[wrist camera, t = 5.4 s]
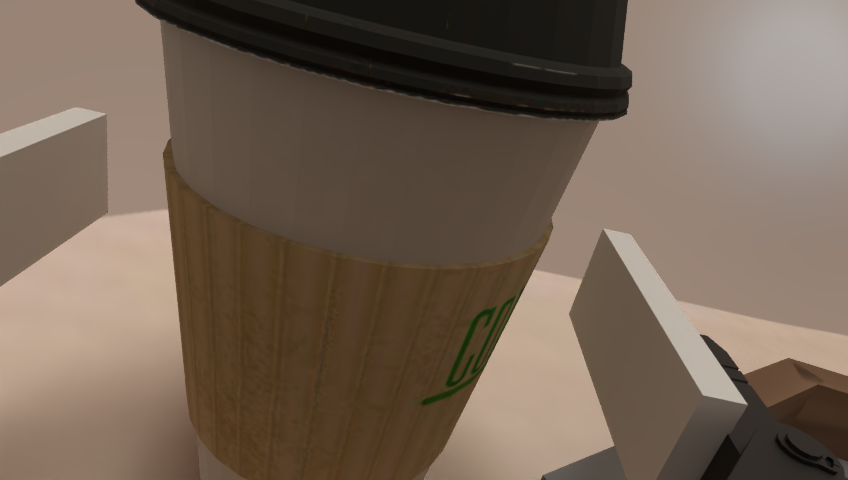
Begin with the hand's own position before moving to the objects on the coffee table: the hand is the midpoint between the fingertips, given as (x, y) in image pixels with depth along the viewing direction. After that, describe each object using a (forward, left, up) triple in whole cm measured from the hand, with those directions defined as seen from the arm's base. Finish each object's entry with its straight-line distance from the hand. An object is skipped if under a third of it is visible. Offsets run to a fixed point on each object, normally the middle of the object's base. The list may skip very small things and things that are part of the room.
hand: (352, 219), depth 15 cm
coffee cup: (-1, 0, -9) cm, 9 cm away
